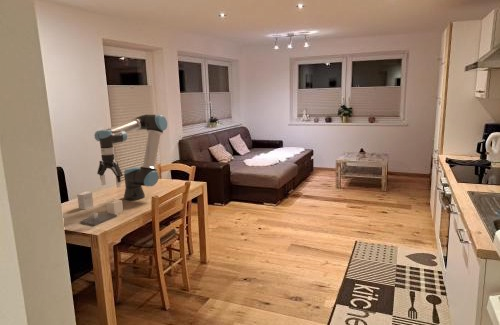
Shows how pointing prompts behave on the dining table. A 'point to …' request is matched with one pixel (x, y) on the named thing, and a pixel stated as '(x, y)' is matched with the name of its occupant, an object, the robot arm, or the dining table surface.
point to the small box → (85, 200)
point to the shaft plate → (102, 219)
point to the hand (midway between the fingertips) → (111, 185)
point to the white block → (114, 206)
